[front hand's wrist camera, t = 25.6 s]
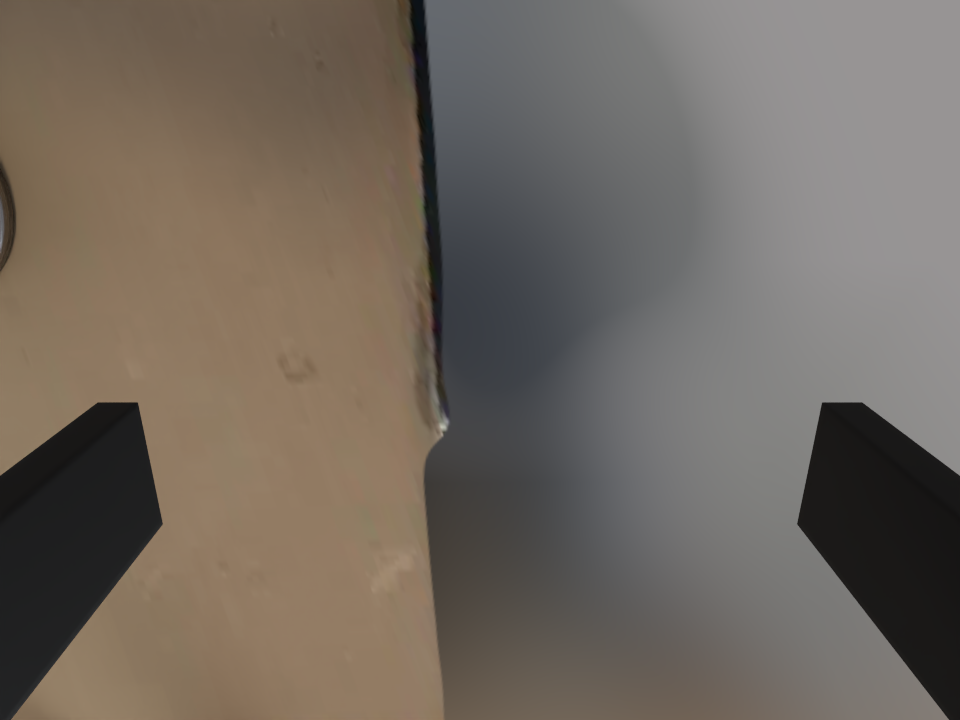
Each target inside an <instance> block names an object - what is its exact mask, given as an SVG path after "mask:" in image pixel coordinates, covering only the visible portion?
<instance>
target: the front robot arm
mask: <svg viewBox="0 0 960 720" xmlns="http://www.w3.org/2000/svg"><path fill="white" fill-rule="evenodd" d="M13 230H14V217H13V207H12V202H11V197H10V193H9V190H8V187H7V184H6V181H5V178H4V176H3V173H2V171H1V169H0V270H1V268H2V267H3V265H4V263H5V261H6V259H7V257H8V254H9V251H10V248H11V243H12V239H13ZM162 524H163V523H162V518H161V513H160V508H159V503H158V499H157V494H156V489H155V484H154V479H153V474H152V469H151V464H150V460H149V455H148V450H147V445H146V440H145V435H144V430H143V425H142V421H141V416H140V411H139V406H138V403H97V404H95V405H94V406H93V407H91V408H90V409H89V410H87V411H86V412H85V413H83V414H82V415H81V416H79V417H78V418H77V419H75V420H74V421H73V422H71V423H70V424H69V425H67V426H66V427H65V428H63V429H62V430H61V431H59V432H58V433H57V434H55V435H54V436H53V437H51V438H50V439H49V440H47V441H46V442H45V443H43V444H42V445H41V446H39V447H38V448H37V449H35V450H34V451H33V452H31V453H30V454H29V455H27V456H26V457H25V458H23V459H22V460H21V461H19V462H18V463H17V464H15V465H14V466H13V467H11V468H10V469H9V470H7V471H6V472H5V473H3V474H2V475H1V476H0V720H11V719H12V718H13V716H14V715H15V714H16V712H17V711H18V710H19V709H20V707H21V706H22V705H23V703H24V702H25V701H26V700H27V698H28V697H29V696H30V694H31V693H32V692H33V691H34V689H35V688H36V687H37V685H38V684H39V683H40V682H41V680H42V679H43V678H44V676H45V675H46V674H47V673H48V671H49V670H50V669H51V667H52V666H53V665H54V663H55V662H56V661H57V660H58V658H59V657H60V656H61V654H62V653H63V652H64V651H65V649H66V648H67V647H68V645H69V644H70V643H71V642H72V640H73V639H74V638H75V636H76V635H77V634H78V633H79V631H80V630H81V629H82V627H83V626H84V625H85V624H86V622H87V621H88V620H89V618H90V617H91V616H92V615H93V613H94V612H95V611H96V609H97V608H98V607H99V606H100V604H101V603H102V602H103V600H104V599H105V598H106V597H107V595H108V594H109V593H110V591H111V590H112V589H113V588H114V586H115V585H116V584H117V582H118V581H119V580H120V579H121V577H122V576H123V575H124V573H125V572H126V571H127V570H128V568H129V567H130V566H131V564H132V563H133V562H134V560H135V559H136V558H137V557H138V555H139V554H140V553H141V551H142V550H143V549H144V548H145V546H146V545H147V544H148V542H149V541H150V540H151V539H152V537H153V536H154V535H155V533H156V532H157V531H158V530H159V528H160V527H161V526H162ZM797 524H798V526H799V527H800V528H801V530H802V531H803V532H804V533H805V535H806V536H807V537H808V539H809V540H810V541H811V542H812V544H813V545H814V546H815V548H816V549H817V550H818V551H819V553H820V554H821V555H822V557H823V558H824V559H825V560H826V562H827V563H828V564H829V566H830V567H831V568H832V569H833V571H834V572H835V573H836V575H837V576H838V577H839V578H840V580H841V581H842V582H843V584H844V585H845V586H846V588H847V589H848V590H849V591H850V593H851V594H852V595H853V597H854V598H855V599H856V600H857V602H858V603H859V604H860V606H861V607H862V608H863V609H864V611H865V612H866V613H867V615H868V616H869V617H870V618H871V620H872V621H873V622H874V624H875V625H876V626H877V627H878V629H879V630H880V631H881V633H882V634H883V635H884V636H885V638H886V639H887V640H888V642H889V643H890V644H891V645H892V647H893V648H894V649H895V651H896V652H897V653H898V654H899V656H900V657H901V658H902V660H903V661H904V662H905V663H906V665H907V666H908V667H909V669H910V670H911V671H912V672H913V674H914V675H915V676H916V678H917V679H918V680H919V681H920V683H921V684H922V685H923V687H924V688H925V689H926V690H927V692H928V693H929V694H930V696H931V697H932V698H933V700H934V701H935V702H936V703H937V705H938V706H939V707H940V708H941V710H942V711H943V712H944V714H945V715H946V716H947V718H948V719H949V720H960V476H959V475H958V474H957V473H955V472H954V471H953V470H951V469H950V468H949V467H947V466H946V465H945V464H943V463H942V462H941V461H939V460H938V459H937V458H935V457H934V456H933V455H931V454H930V453H929V452H927V451H926V450H925V449H923V448H922V447H921V446H919V445H918V444H917V443H915V442H914V441H913V440H911V439H910V438H909V437H907V436H906V435H905V434H903V433H902V432H901V431H899V430H898V429H897V428H895V427H894V426H893V425H891V424H890V423H889V422H887V421H886V420H885V419H883V418H882V417H881V416H879V415H878V414H877V413H875V412H874V411H873V410H871V409H870V408H869V407H867V406H866V405H865V404H863V403H822V406H821V411H820V416H819V421H818V425H817V431H816V435H815V440H814V445H813V450H812V455H811V460H810V464H809V469H808V474H807V479H806V484H805V489H804V494H803V499H802V503H801V508H800V513H799V518H798V523H797Z"/></svg>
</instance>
